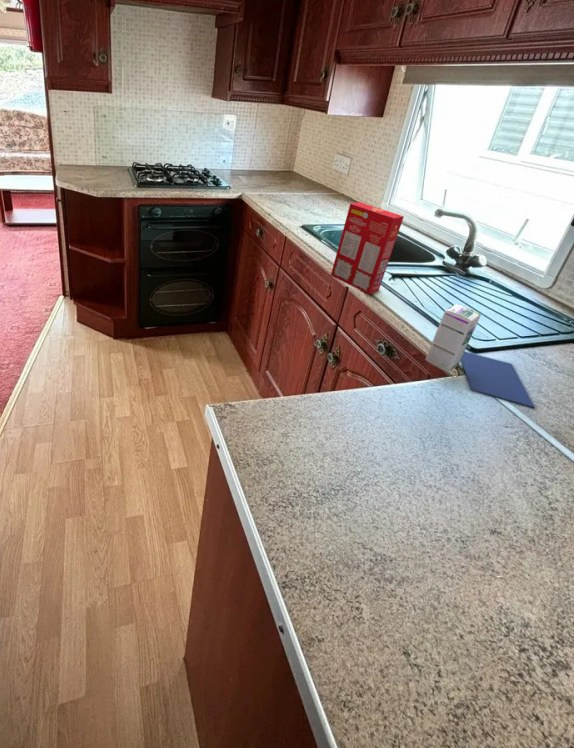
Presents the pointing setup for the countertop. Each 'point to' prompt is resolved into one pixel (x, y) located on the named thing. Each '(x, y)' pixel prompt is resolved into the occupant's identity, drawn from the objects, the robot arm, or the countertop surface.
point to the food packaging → (366, 246)
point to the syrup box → (452, 337)
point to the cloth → (494, 378)
